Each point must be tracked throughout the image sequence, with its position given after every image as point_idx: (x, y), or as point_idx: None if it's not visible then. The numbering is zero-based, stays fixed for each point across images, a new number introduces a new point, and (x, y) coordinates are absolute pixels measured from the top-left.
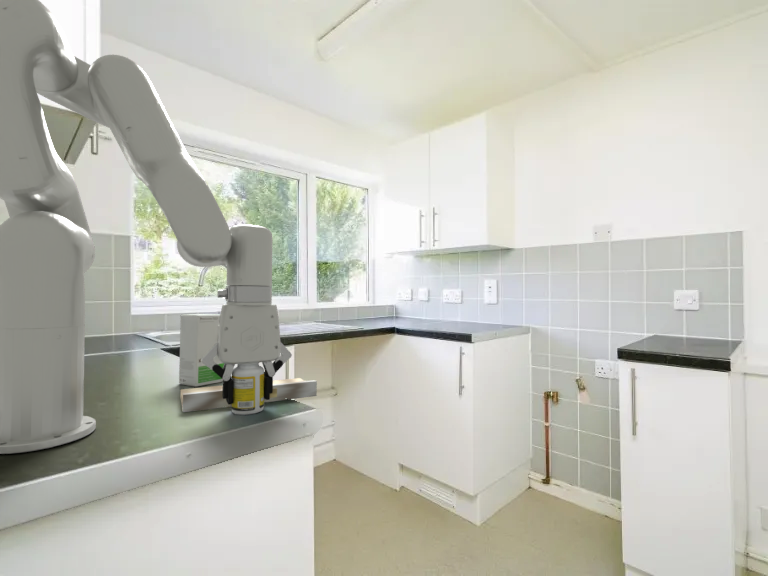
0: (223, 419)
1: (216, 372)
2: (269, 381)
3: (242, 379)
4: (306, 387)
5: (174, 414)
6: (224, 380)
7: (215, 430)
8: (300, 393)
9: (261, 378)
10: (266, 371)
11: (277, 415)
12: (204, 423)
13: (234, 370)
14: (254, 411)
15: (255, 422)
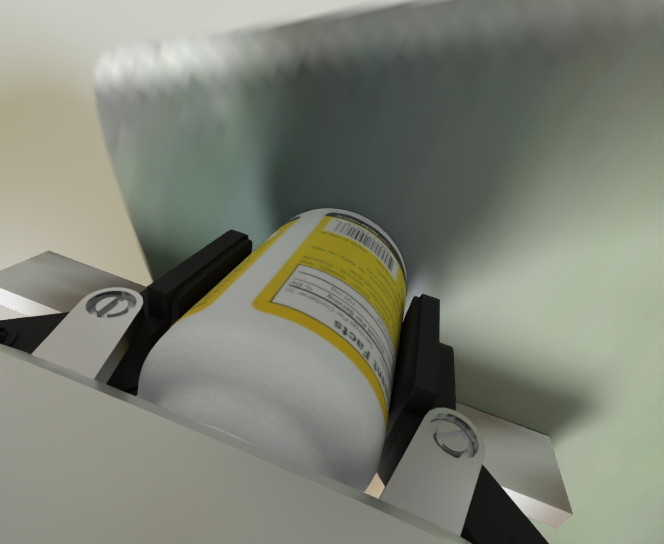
0: (485, 239)
1: (529, 528)
2: (170, 273)
3: (350, 341)
4: (46, 284)
5: (588, 439)
6: (468, 419)
7: (644, 84)
8: (91, 281)
9: (207, 297)
10: (136, 360)
11: (255, 110)
12: (591, 247)
13: (365, 472)
14: (333, 209)
15: (393, 71)
